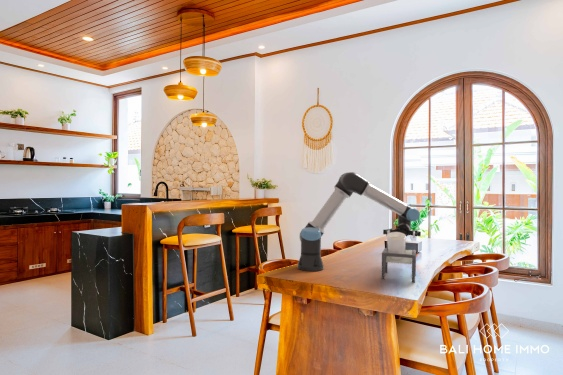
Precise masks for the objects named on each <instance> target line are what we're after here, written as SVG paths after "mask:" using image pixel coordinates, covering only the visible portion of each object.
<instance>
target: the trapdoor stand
mask: <svg viewBox="0 0 563 375" xmlns="http://www.w3.org/2000/svg"><path fill="white" fill-rule="evenodd" d="M405 250H410V248H409V249H406V248H405ZM412 250H413V252H412V255H410V254H397V253H387V252H388V247H384V249H383V251H382V252H381V280H383V281H384V280H386V279H385V278H386V274H388V268H389V266H388V263H389V262H386V257H387V256H392V257H405V258H412V264H411V283H413V284H414V283H416V275H417V274H416V269H417V250H416V249H412Z"/></svg>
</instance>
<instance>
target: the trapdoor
mask: <svg viewBox="0 0 563 375" xmlns="http://www.w3.org/2000/svg"><path fill="white" fill-rule="evenodd" d="M413 250H414V249H409V250H405V254H410V255H412V254H413V253H412V252H413ZM387 253H388V252H387ZM386 262H388V263H391V264H393V263H394V264H404V265H407V264H408V265H412V258H405V257H404V258H403V259H398V260H396V259H392V258H390V257H389V256H387V257H386Z"/></svg>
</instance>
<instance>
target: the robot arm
mask: <svg viewBox="0 0 563 375" xmlns="http://www.w3.org/2000/svg"><path fill="white" fill-rule="evenodd" d="M333 189H334V190H333V192H332V193H331V195H330V196H329V198H328V199H327V200H326V202H325V203H324V205H322V207H321V209H320V210H319V212H318V213H317V214H316V215H315V217H314V218H313V219H312V221H308V223H307V224H306V225H305V227H304V228H302V229H301V231H300V232H299V241H300V256H299V260H298V263H297V269H298V270H301V271H303V272H304V271H306V272H318V271H323V270H324V263H323V260H322V256H321V252H322V250H321V249H322V246H321V245H322V237H323V235H324V234H325V231H324V230H325V228H326V227H327V225H328V224H329V223H330V222H331V220H332V218H333V217H334V216H335V214H336V213H337V212H338V210H339V209H340V207H341V206H343V203H344V202H345V200H346V199H348V198H349V199H350V197H351V196H352V195H353V194H354V193H355V194H357V195H358V196H359V195H360V196H364V197H366V198H368V199H370V201H371V200H372V201H374V202H375V203H376V204H379V205H381V206H383V207H384V208H385V209H388V210H390V211H391V212H393V213H395V214H396V215H397V227H396V228H394V229H393V228H388V229H383V232H382V233H383V235H386V237H387V234H388V233H391V232H401V233H404V234H405V235H406V237H408V236H412V238H413V239H415V238H416V237H421V235H422V234H421V233H422V232H421V231H419V230H417V229H412V226H411V224H412V223H411V222H416V221H418V220H419V219H420V216H421V214H420V211H419V210H418V209H417V208H415V207H412V206H411V203H407V202H406V203H405V202H403V201H401V200H399V199H398V198H396V197H394V196H393V195H390V194H389V193H387V192H385V191H383V190H382V189H380V188H378V187H376V186H375V185H373V184H371V183H370V181H369V180H367V179H365V177H362V176H361V175H360V174H358V173H356V172H354V171H353V172H344V173H343V174H341V175H340V176H339V178H338V181H337V182H336V184H335V185H334V188H333Z"/></svg>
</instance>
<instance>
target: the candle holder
mask: <svg viewBox="0 0 563 375" xmlns="http://www.w3.org/2000/svg"><path fill="white" fill-rule="evenodd" d="M406 240H407V236H406V235H405V234H404V233H401V232H391V233H388V234H387V236H386V243H387V248H388V253H397V254H405V249H406V243H407V242H406ZM389 257H390V258H392V259H396V260H398V259H403V258H404V257H392V256H389Z"/></svg>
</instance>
